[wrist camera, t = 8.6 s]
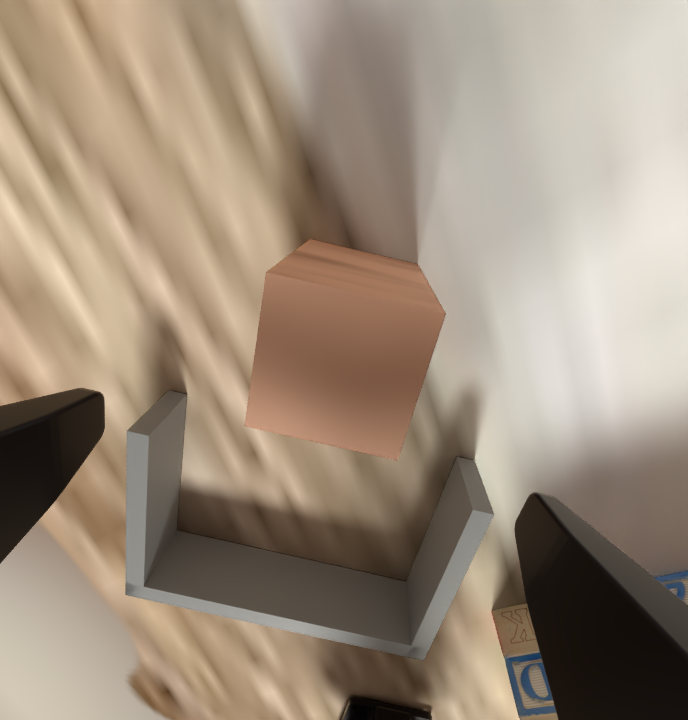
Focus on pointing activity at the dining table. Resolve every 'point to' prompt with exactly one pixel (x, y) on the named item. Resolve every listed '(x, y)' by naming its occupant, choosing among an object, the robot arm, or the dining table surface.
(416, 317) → the terracotta block
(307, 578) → the open-fronted box
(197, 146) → the dining table surface
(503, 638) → the stack of blocks
